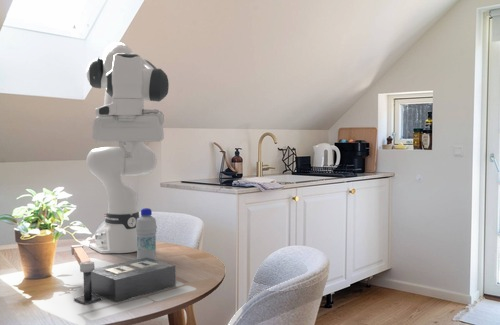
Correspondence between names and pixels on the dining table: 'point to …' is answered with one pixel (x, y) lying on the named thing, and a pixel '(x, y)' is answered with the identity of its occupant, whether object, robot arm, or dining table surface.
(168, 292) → the dining table surface
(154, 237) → the bottle
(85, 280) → the pivot post
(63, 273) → the dining table surface
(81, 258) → the swing arm
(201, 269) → the dining table surface
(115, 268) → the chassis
